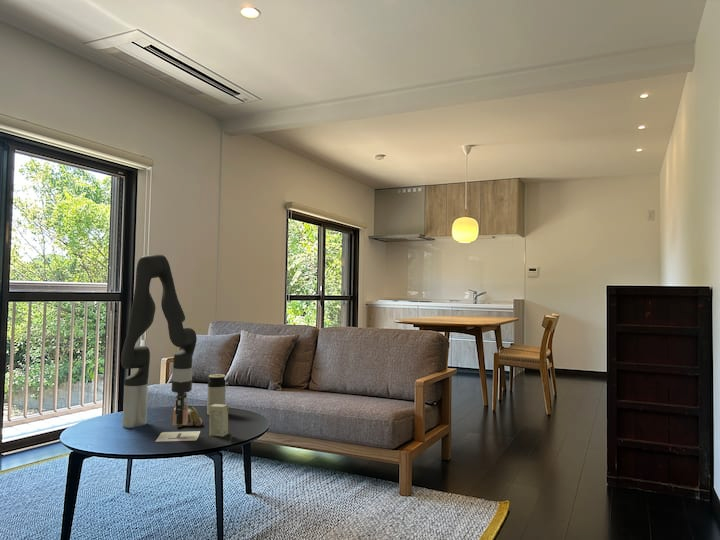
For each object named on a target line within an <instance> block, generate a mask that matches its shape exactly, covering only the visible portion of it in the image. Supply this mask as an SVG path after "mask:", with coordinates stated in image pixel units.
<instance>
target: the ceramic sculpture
mask: <svg viewBox="0 0 720 540" xmlns="http://www.w3.org/2000/svg"><path fill="white" fill-rule="evenodd" d="M187 406H188V422H187V424H186V425H175V426H176V427H177V428H182V427H184V426H185V427H191V426H192V427H193V426H196V427H200V426H202V424H203V418H202V417H200V416H199V412H198V411H197V409H196V408H195V407H193V406H192V405H191V404H189V405H187Z"/></svg>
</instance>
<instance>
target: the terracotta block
mask: <svg viewBox="0 0 720 540" xmlns="http://www.w3.org/2000/svg"><path fill="white" fill-rule="evenodd" d="M188 406H189V405H186V406H185V408H184V409H183V423H182V424H181V425H186V424H187V422H188ZM178 411H181V409H178ZM175 412H176V408H175V407H174V408H173V411H172V413H173V414H172V426H176V425H177V424H176V420H177V415H176V414H175Z"/></svg>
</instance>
